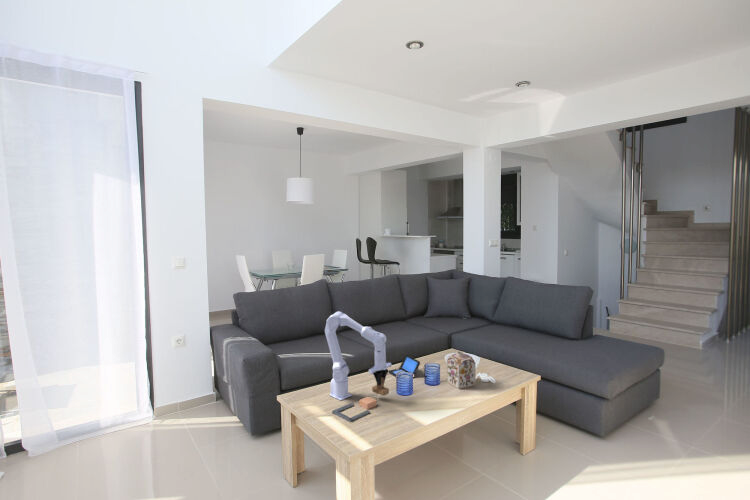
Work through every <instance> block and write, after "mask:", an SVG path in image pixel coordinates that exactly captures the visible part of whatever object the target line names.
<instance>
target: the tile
mask: <svg viewBox="0 0 750 500" xmlns="http://www.w3.org/2000/svg"><path fill="white" fill-rule="evenodd" d="M359 406H360V407H361V408H363V409H366V410H369V409H372V408H374V407H377V400H376V399H374V398H373V397H371V396H366V397H363V398H362V399H359Z"/></svg>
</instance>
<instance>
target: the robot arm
mask: <svg viewBox="0 0 750 500" xmlns="http://www.w3.org/2000/svg"><path fill="white" fill-rule="evenodd" d="M339 326H340V327H344V326H347V327H349V328H351V329H352V330H355V331H356V332H358V333H360V335H361V337H363V338H365V340H367V341H369V342H371V343H372V344H373V346H374V366H372V367H371V368H369V369H368V374H369V375H373V377H374V379H375V381H376V385H381V377H384V383H386V378H387V375H388V374H389V369H388V368H392V363H391V362H387V357H386V355H387V354H386V352H387V351H386V350H387V348H386V343H387V336H386V335H385V334H384V333H382V332H379V331H376V330H375V329H373V328H372V326H363V325H362V324H360V323H359V322H357V321H355V320H354V319H352V318H351V317H349V316H348V315H347V314H346V313H343V311H340V310H339V311H336V312H334V313H333V314H331V315H329V317H328V318H327V319H326V323H325V327H324V334H325V338H326V341H327V345H328V349H329V352H330V356H331V359H332V364H333V365H332V379H331V380H330V385H329V387H330V393H329V396H330V397H333V398H334V399H336V400H339V401H342V400H345V399H347V398H350V397H352V396H353V395H352V394H351V393H349V377H348V375H349V373H350V367H349V366H348V365H347V362H346V361H345V360H344V358H343V355H342V352H341V347H340V343H339V340H338V336H337V331H336V330H337V329H338V327H339Z"/></svg>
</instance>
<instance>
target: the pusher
mask: <svg viewBox="0 0 750 500" xmlns="http://www.w3.org/2000/svg"><path fill="white" fill-rule="evenodd" d="M371 391H372V393H375V394H378V395H380V396H386V395H389V394H390V388H388V387H385V382H384V377H381V385H377V384H375V385H374V386H372V390H371Z"/></svg>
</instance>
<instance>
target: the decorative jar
mask: <svg viewBox="0 0 750 500" xmlns="http://www.w3.org/2000/svg"><path fill="white" fill-rule="evenodd" d="M476 375H477V374H476V361H475V360H474V358H473V357H472V355H469V354H467V353H466V352H465V351H457V352H456V353H452V354H451V355H449V357H448V358H447V359H446V383H448V384H449V385H451V386H452V387H454V388H456V389H458V390H462V389H465V388H469V387H475V386H476Z"/></svg>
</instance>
